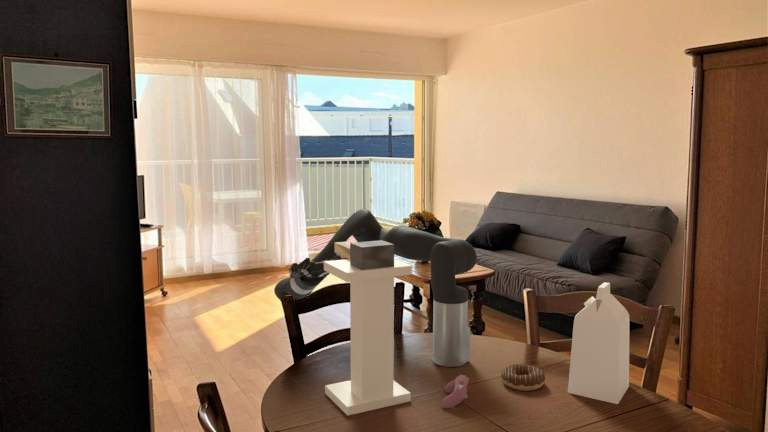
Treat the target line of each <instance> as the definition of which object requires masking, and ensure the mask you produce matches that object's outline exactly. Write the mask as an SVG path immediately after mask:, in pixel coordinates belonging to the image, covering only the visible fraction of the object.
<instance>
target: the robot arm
mask: <svg viewBox="0 0 768 432" xmlns="http://www.w3.org/2000/svg"><path fill="white" fill-rule="evenodd" d="M350 237H352V238H354V240H356V242H367V241H379V240H383V241H386V242H389V243H392V244H394V256H397V257H400V258H403V259H406V260H409V261H411V260H412V261H424V262H425V261H426V262H429V266H430V267H429V268H430V286H431V290H432V291H431V292H432V294H433V295H432V297H433V300H432V301H433V303H432V304H433V307H432V308H433V309H432V310H433V312H432V313H433V314H432V317H433V319H432V362H433V363H434V364H436V365H438V366H442V367H449V368H453V367H461V366H464V365H466V364H467V363H468V362H470V361H471V360H470V359H471V357H470V356H471V327H470V326H468V315H469V314H468V312H469V311H468V308H469V305H468V302H469V292H468V289H466V288H465V287H463V286H461V285H457V283H456V275H462V274H465V273H467V272H470V271H471V270H472V269H473V268H474V267H475V265H476V264H477V258H478V257H477V256H478V255H477V252H476V250H475V248H474V247H473V245H472V244H471V243H470V242H468V241H467V240H465V239H461V238H460V239H459V238H453V237H451V238H450V237H443V236H441V235H440V236H439V235H436V234H435V233H434V234H433V233H430V232H428V231H424V230H420V229H418V228H415V227H413V226H412V227H411V226H407V225H396V226H394V227H392V228H391V229H389V230H388V229H386V228H384V227H383V226H382V225H381V224H380V222H379V221H378V220H377V218H376V217H375V216H374V214H373V213H372V212H371V211H370V210H369V209H367V208H361V209H359V210H356V211H355V212H354V213H352V214H351V215H350V216H349V217H348V218H347V219H346V221H345V222H343V224H342V225H341V226H340V228H339V229H338V231H336V233H335V234H334V235H333V236H332V238H331V239H330V240H329V241H328V242H327V244H326V245H325V246H324V247H323V249H322V250H321V251H319V253H318V254H316V256H314V257H313V258H312V259H311V258H310V257H306V258H305V259H303V260H302V261H300V262H299V263H297V262H293V263H292V264H291V265H290V267H289V269H288V274H289V277H286V278H283V279H281V280H280V281H278V282H277V284H276V285H275V286H274V295H275V296H276V298H277V299H278V300H279V301H280V302H281V303H282V301H281V297H282V296H285V295H291V296H293V297H294V299H295V300H297V299H300V298H302V299H303V297H304V298H307V297H306V296H307V295H308V296H309V297H310V296H311V294H312V292H314V290H315V289H316V287H317V286H319V285H320V283H322V282H323V281H324V280H325V279H326V278H327V277H328V276H329V275H330V273H329V272H327V271H325V270H324V261H334V260H343V259H342V257H341V256H342V255H339V254H337V253H335V245H334V243H335V242H347V241H348V240H349V239H350Z"/></svg>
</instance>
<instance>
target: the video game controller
mask: <svg viewBox="0 0 768 432" xmlns="http://www.w3.org/2000/svg"><path fill="white" fill-rule="evenodd" d="M469 381H470V378H469V377H468V376H467V375H465V374H464V375H462V374H459V375H457V376H456V378H455V379H453V380H452V381H451V380H450V381H449V382H448V383H447V384H446V385H445V387H444V392H445V393H446V394H448V395H447V396H445V397H444V398H443V399H442V400H441V404H440V406H441V408H443V409H451V408H454V407H455V406H459V405H460V403H462V401H464V400H467V399H468V397H469V395H468V394H467V392H468V388H467V387H468V383H469Z"/></svg>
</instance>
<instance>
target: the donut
mask: <svg viewBox="0 0 768 432" xmlns="http://www.w3.org/2000/svg"><path fill="white" fill-rule="evenodd" d="M500 375H501V379H502V382H503V383H504V385H506V386H507V387H508V388H511V389H513V390H516V391H521V392H522V391H525V392H530V391H535V390H539V389H541V387H543V385H544V384H545V382H546V376H545V373H544V371H543V370H542V369H540V368H538V367H536V366H533V365H530V364H525V363H524V364H523V363H515V364H510V365H508V366H506V367H505V368H504V369H503V370H502V372H501V374H500Z"/></svg>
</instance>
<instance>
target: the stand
mask: <svg viewBox="0 0 768 432" xmlns="http://www.w3.org/2000/svg"><path fill="white" fill-rule="evenodd" d="M412 267H413V265H412V264H409V263H406V262H403V261H401V260H399V259H396V258H394V267H385V268H376V269H367V270H360V269H358V268H356V267H354V266H352V265H350V259H348V258H345V259H342V260H334V261H324V270H325V271H327V272H329V273H330V274H331V275H333V276H334V277H337V278H338V279H340V280H342V281H344V282H346V283H349V285H350V287H349V288H350V290H349V291H350V295H349V296H350V297H349V298H350V299H349V300H350V301H349V302H350V303H349V307H350V314H349V315H350V380H345V381H341V382H335V383H331V384H330V383H329V384H325V385H324V394H325V395H326V396H327V397H328V398H329V399H330V400H331V401H332V402H333V403H334V405H336V406H337V407H338V408H339V409H340V410H341V411H342V412H343V413H344V414H345V415H346V416H352V415H356V414H360V413H366V412H369V411H374V410H378V409H379V410H380V409H382V408H387V407H391V406H396V405H400V404H404V403H409V402H411V401H412V399H411V397H412V396H411V395H412V393H411V392H410V391H409V390H408V389H406V388H405V387H403V386H402V385H401V384H399V383H398V382H397V381H396V380H395V379H394V374H395V373H394V370H395V369H394V366H395V365H394V364H395V363H394V357H395V355H394V353H395V352H394V351H395V350H394V347H395V344H394V343H395V342H394V339H395V337H394V335H395V332H394V331H395V329H394V327H395V322H394V321H395V277H402V276H409V275H413V268H412ZM330 274H329V275H330Z"/></svg>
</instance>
